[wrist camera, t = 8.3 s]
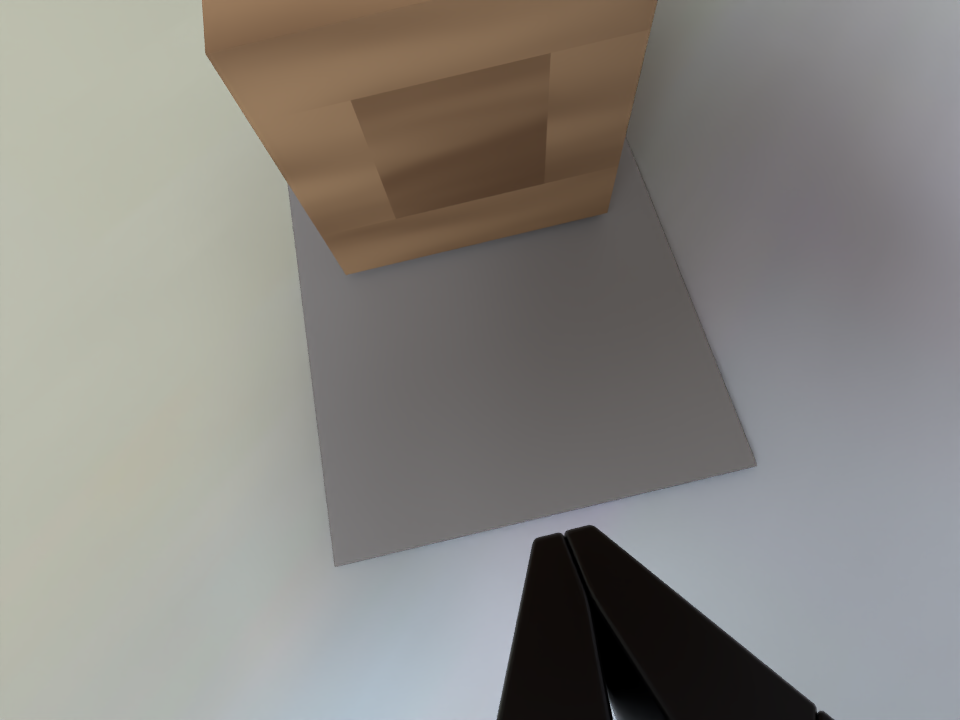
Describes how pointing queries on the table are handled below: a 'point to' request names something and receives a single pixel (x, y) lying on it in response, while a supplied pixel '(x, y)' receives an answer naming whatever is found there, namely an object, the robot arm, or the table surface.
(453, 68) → the walnut block
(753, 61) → the table surface
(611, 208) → the gray angle bracket
